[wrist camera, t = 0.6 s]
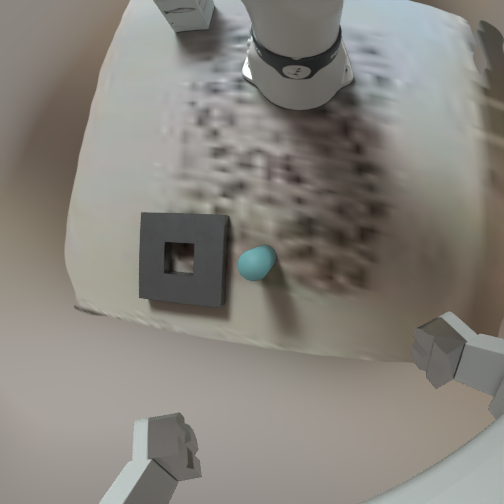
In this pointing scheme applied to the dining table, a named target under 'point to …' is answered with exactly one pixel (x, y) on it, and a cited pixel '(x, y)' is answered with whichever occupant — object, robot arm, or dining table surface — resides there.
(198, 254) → the socket block
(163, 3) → the supplement box
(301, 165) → the dining table surface
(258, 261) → the peg
